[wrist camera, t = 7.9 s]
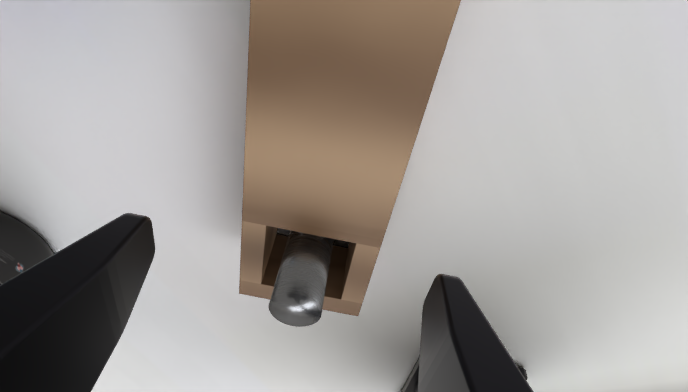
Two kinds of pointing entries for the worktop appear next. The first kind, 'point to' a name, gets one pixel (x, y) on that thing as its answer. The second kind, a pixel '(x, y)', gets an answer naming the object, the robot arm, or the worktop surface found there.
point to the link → (333, 129)
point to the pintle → (301, 279)
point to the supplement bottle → (19, 248)
